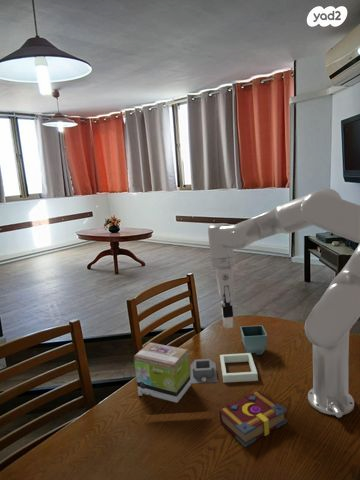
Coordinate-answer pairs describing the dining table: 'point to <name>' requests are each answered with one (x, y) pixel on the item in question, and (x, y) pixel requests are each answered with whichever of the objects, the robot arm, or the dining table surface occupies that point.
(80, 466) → the dining table surface
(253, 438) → the decorative book
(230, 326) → the cylinder
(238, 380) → the parts tray
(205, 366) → the block
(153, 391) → the tea box
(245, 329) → the flower pot
